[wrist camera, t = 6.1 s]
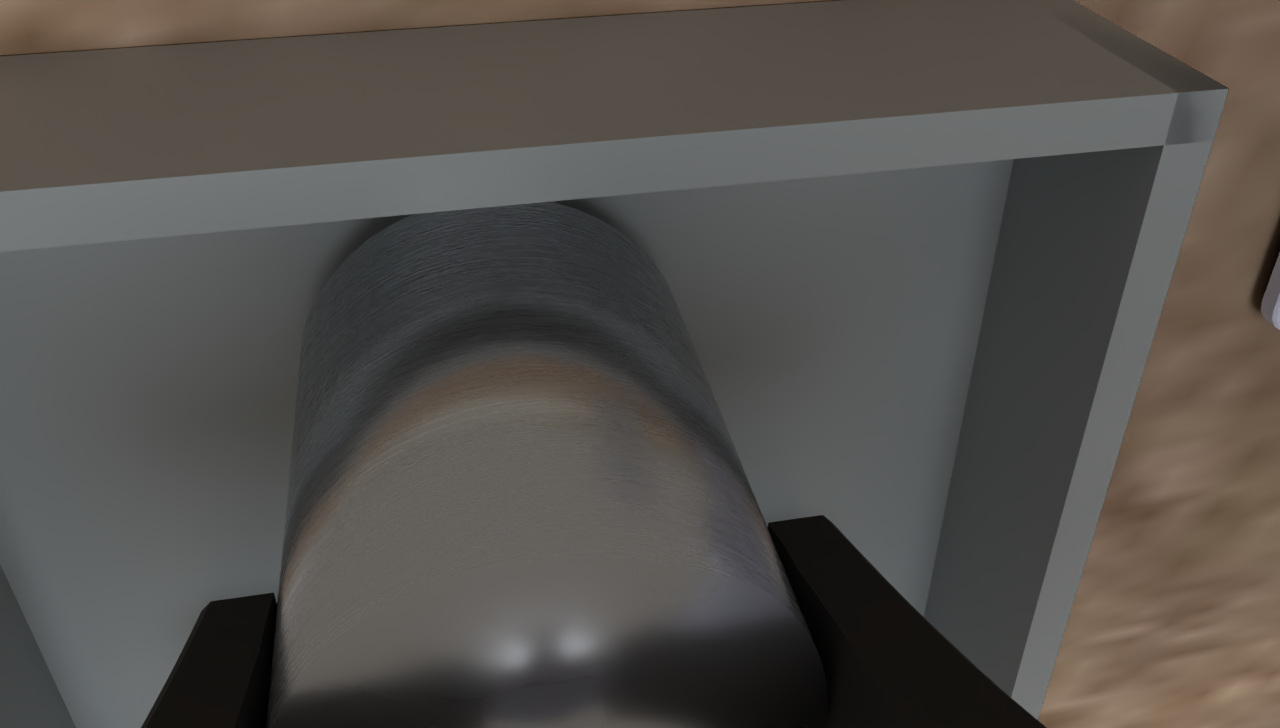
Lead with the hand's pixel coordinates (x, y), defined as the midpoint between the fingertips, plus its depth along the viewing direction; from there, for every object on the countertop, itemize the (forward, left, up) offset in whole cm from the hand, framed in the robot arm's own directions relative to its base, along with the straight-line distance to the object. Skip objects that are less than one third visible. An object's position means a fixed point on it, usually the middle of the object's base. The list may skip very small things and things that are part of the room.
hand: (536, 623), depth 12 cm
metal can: (0, -1, -4) cm, 4 cm away
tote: (0, +3, -6) cm, 7 cm away
